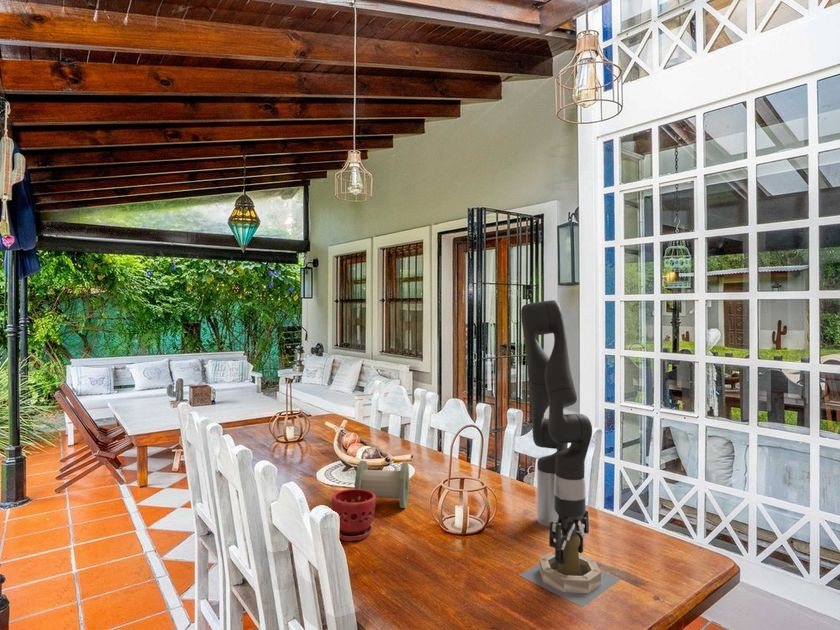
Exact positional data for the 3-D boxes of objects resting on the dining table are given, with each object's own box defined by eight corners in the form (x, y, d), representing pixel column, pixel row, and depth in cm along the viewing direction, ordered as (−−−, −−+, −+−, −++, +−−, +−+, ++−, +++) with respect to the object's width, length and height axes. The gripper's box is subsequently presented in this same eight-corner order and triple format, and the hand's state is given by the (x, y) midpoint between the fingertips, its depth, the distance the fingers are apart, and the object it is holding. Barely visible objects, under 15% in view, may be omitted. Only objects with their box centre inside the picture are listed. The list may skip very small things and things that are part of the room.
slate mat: (558, 554, 138) (558, 552, 138) (621, 581, 125) (621, 578, 125) (518, 577, 127) (518, 575, 127) (582, 609, 113) (582, 607, 113)
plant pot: (368, 546, 143) (368, 504, 143) (325, 542, 146) (325, 501, 146) (380, 527, 156) (380, 488, 156) (340, 523, 159) (340, 485, 158)
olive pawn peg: (562, 567, 130) (563, 525, 130) (585, 575, 126) (585, 532, 126) (552, 577, 126) (553, 533, 125) (576, 585, 122) (576, 541, 122)
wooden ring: (560, 557, 136) (561, 546, 136) (609, 578, 125) (609, 566, 125) (529, 575, 126) (529, 563, 126) (579, 599, 116) (579, 587, 116)
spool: (409, 498, 180) (409, 456, 180) (403, 515, 165) (403, 470, 165) (364, 496, 181) (364, 455, 181) (354, 513, 166) (354, 468, 166)
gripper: (572, 483, 133) (571, 543, 133) (540, 496, 124) (540, 561, 124) (598, 490, 127) (597, 553, 128) (567, 505, 118) (566, 573, 118)
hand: (569, 557), depth 126 cm, fingers open, 8 cm apart
